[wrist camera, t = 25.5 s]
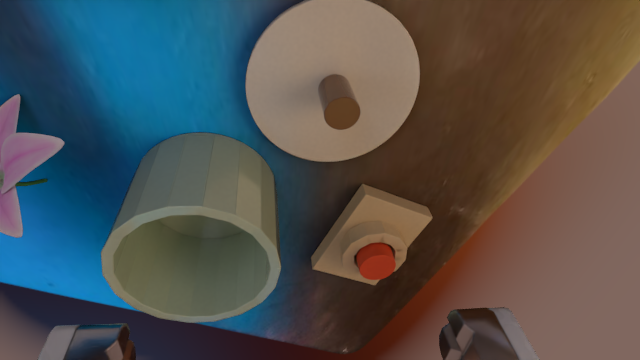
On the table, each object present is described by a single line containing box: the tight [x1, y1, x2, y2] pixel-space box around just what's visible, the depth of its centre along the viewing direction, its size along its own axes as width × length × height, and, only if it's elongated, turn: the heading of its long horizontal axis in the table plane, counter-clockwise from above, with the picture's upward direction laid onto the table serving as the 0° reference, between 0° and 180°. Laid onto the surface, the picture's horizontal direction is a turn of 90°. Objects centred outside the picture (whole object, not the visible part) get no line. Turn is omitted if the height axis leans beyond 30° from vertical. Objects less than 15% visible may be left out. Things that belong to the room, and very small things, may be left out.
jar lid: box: [245, 0, 420, 162], centre depth 31 cm, size 14×14×5 cm
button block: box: [311, 184, 433, 285], centre depth 42 cm, size 11×8×4 cm
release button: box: [356, 242, 396, 280], centre depth 40 cm, size 4×4×2 cm
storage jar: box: [101, 133, 281, 323], centre depth 34 cm, size 13×13×10 cm
